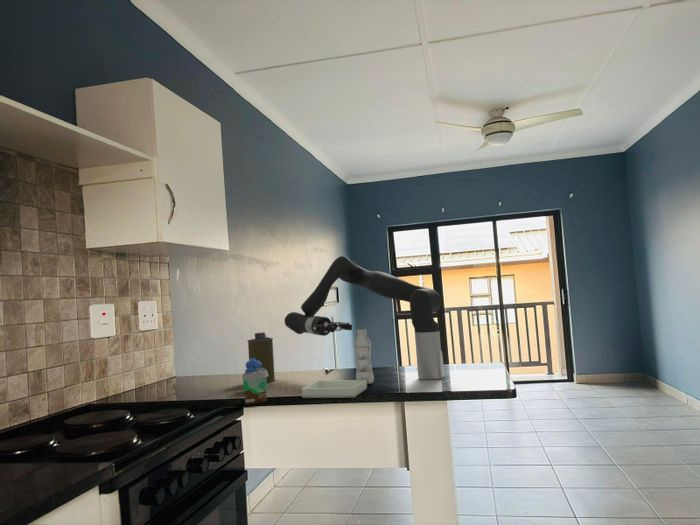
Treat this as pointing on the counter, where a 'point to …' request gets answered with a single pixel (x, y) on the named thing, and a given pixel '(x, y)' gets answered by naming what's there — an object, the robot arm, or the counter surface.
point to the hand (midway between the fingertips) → (342, 328)
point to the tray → (334, 389)
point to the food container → (255, 386)
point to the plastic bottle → (363, 357)
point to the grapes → (253, 366)
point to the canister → (263, 353)
